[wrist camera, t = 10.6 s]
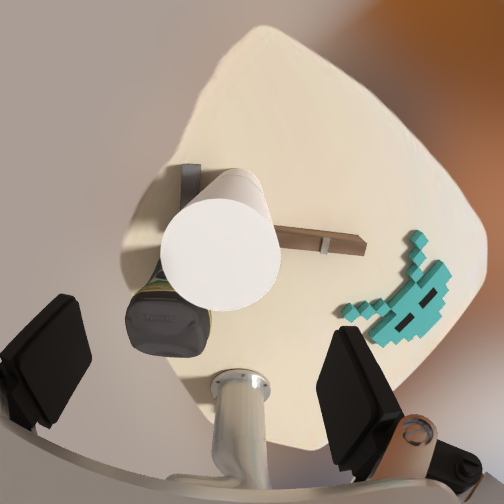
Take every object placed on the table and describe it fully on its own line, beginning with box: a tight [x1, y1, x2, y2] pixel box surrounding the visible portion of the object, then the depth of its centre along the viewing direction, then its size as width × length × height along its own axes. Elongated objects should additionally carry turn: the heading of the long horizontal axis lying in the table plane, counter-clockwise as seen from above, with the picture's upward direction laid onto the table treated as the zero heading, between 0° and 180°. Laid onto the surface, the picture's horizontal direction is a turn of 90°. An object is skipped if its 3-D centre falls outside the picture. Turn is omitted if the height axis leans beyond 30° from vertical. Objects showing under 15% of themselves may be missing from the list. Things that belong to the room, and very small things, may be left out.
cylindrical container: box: [160, 168, 281, 311], centre depth 28 cm, size 7×7×25 cm
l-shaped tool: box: [180, 164, 367, 256], centre depth 38 cm, size 10×27×4 cm, turn 84°
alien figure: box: [341, 230, 452, 348], centre depth 46 cm, size 20×2×20 cm
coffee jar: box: [125, 258, 212, 358], centre depth 35 cm, size 10×8×19 cm
